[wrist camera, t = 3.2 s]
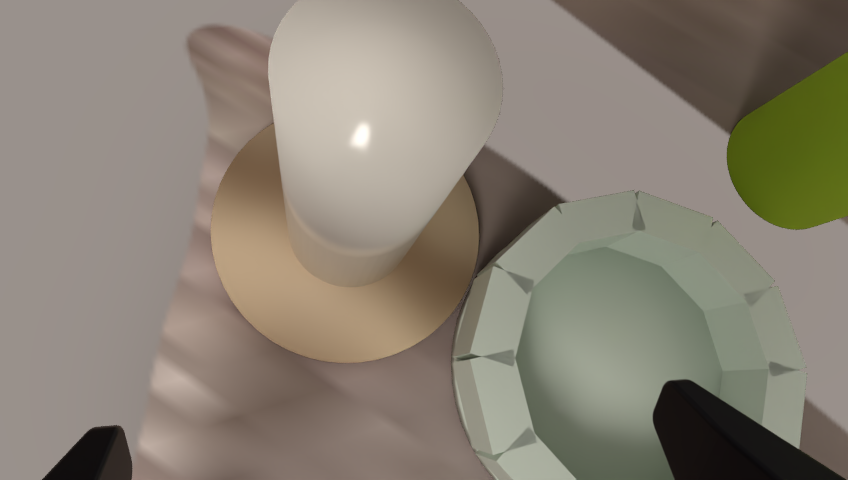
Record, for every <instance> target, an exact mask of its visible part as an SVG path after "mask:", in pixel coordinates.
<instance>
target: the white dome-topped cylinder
mask: <svg viewBox="0 0 848 480" xmlns="http://www.w3.org/2000/svg"><path fill="white" fill-rule="evenodd" d="M268 77H269V86H270V94H271V102H272V110H273V118H274V126H275V134H276V141H277V149H278V157H279V165H280V173H281V181H282V189H283V197H284V205H285V213H286V221H287V229H288V237H289V241H290V245H291V248H292V250H293V252H294V254H295V256H296V258H297V259H298V261H299V262H300V263H301V265H302V266H303V267H304V268H305V269H306V270H307V271H308V272H309V273H311V274H312V275H313V276H315V277H316V278H318V279H320V280H322V281H324V282H326V283H329V284H332V285H335V286H340V287H360V286H365V285H369V284H372V283H375V282H377V281H379V280H381V279H382V278H384V277H386V276H387V275H388V274H390V273H391V272H392V271H393V270H394V269H395V268H396V267H397V266H398V264H399V263H400V262H401V260H402V259H403V258H404V256H405V255H406V253H407V252H408V251H409V249H410V248H411V246H412V245H413V244H414V242H415V241H416V239H417V238H418V237H419V235H420V234H421V232H422V231H423V230H424V228H425V227H426V225H427V224H428V223H429V221H430V220H431V218H432V217H433V216H434V214H435V213H436V211H437V210H438V209H439V207H440V206H441V204H442V203H443V202H444V200H445V199H446V197H447V196H448V195H449V193H450V192H451V190H452V189H453V188H454V186H455V185H456V183H457V182H458V181H459V179H460V178H461V176H462V175H463V174H464V172H465V171H466V170H467V168H468V167H469V165H470V164H471V163H472V161H473V160H474V158H475V157H476V156H477V154H478V153H479V151H480V150H481V149H482V147H483V146H484V144H485V143H486V142H487V140H488V139H489V137H490V135H491V133H492V131H493V129H494V127H495V125H496V122H497V120H498V117H499V114H500V109H501V105H502V97H503V80H502V71H501V66H500V62H499V58H498V56H497V53H496V50H495V47H494V45H493V43H492V41H491V39H490V37H489V35H488V34H487V32H486V31H485V29H484V28H483V26H482V25H481V23H480V22H479V21H478V20H477V18H476V17H475V16H474V15H473V14H472V13H471V12H470V11H469V10H468V9H467V8H466V7H465V6H464V5H463V4H462V3H461V2H460V1H458V0H298V1H297V2H296V3H295V4H294V5H293V6H292V7H291V8H290V10H289V11H288V12H287V14H286V15H285V16H284V18H283V19H282V21H281V23H280V25H279V27H278V29H277V30H276V32H275V35H274V38H273V41H272V44H271V48H270V54H269V60H268Z"/></svg>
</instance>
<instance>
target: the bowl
mask: <svg viewBox="0 0 848 480" xmlns="http://www.w3.org/2000/svg"><path fill="white" fill-rule="evenodd" d="M712 220H713V217H710V216H707V215H704V214H702V213H699V212H696V211H693V210H691V209H688V208H685V207H682V206H680V205H677V204H674V203H672V202H669V201H666V200H663V199H660V198H658V197H655V196H652V195H650V194H647V193H644V192H641V191H638V192H636V193H635V192H634V190H633V191H627V192H622V193H616V194H611V195H605V196H600V197H594V198H589V199H584V200H578V201H573V202H567V203H562V204H558V205H557V206H556V207H555V206H554V207H553V208H552V209H550V210H549V211H548V212H546V213H545V214H544V215H542V216H541V217H540V218H538V219H537V220H536V221H534V222H533V223H532V224H530V225H529V226H528V227H527V228H526V229H525V230H524V231H523V232H522V233H521V234H519V235H518V236H517V237H516V238H515V239H514V240H513V241H512V242H511V243H510V244H509V245H508V246H506V247H505V248H504V249H503V250H501V251H500V252H499V253H498V254H497V255H495V257H494V258H493V259H492V260H491V261H490V262H489V263H488V264H487V265H486V266H485V267H484V268H483V269H482V270H481V271H480V272H479V273H478V274H477V276H478V277H477V278H475V279H474V281H473V284H472V286H471V288H470V290H469V292H468V294H467V296H466V298H465V300H464V302H463V305H462V308H461V310H460V313H459V316H458V319H457V323H456V327H455V332H454V337H453V343H452V355H451V373H452V386H453V392H454V398H455V404H456V407H457V411H458V414H459V417H460V421H461V424H462V427H463V429H464V431H465V434H466V436H467V438H468V440H469V443H470V445H471V447H472V448H473V450H474V452H475V454H476V455H477V457H478V458H479V460H480V462H481V463H482V465H483V466H484V467H485V469H486V470H487V471H488V473H489V474H490V475H491V476H492V478H493V479H494V480H674V477H673V475H672V472H671V469H670V467H669V464H668V462H667V459H666V456H665V454H664V451H663V449H662V446H661V443H660V441H659V438H658V436H657V433H656V430H655V428H654V425H653V410H654V408H655V405H656V403H657V400H658V397H659V395H660V392H661V390H662V387H663V385H664V384H665V383H666V382H667V381H669V380H679V379H688V380H691V381H693V382H695V383H696V384H698V385H699V386H701V387H703V388H704V389H706V390H707V391H709V392H710V393H712V394H714V395H715V396H717V397H718V398H720V399H721V400H723V401H724V402H726V403H728V404H729V405H731V406H732V407H734V408H735V409H737V410H738V411H740V412H742V413H743V414H745V415H746V416H748V417H749V418H751V419H752V420H754V421H756V422H757V423H759V424H760V425H762V426H763V427H765V428H767V429H768V430H770V431H771V432H773V433H774V434H776V435H777V436H779V437H781V438H782V439H784V440H785V441H787V442H788V443H790V444H791V445H793V446H795V447H796V448H798V449H799V446H800V436H801V427H802V418H803V408H804V399H805V390H806V380H807V373H805V372H801V371H799V369H803V368H806V365H805V362H804V359H803V356H802V353H801V350H800V347H799V345H798V342H797V339H796V336H795V333H794V330H793V328H792V325H791V322H790V319H789V317H788V313H787V310H786V307H785V305H784V302H783V299H782V296H781V293H780V290H779V287H778V286H775V287H771V288H769V287H770V286H771V285H772V284H773V282H774V280H773V278H772V277H771V276H770V275H769V274H768V273H767V272H766V271H765V270H764V269H763V268H762V267H761V266H760V265H759V264H758V263H757V262H756V260H754V258H753V257H752V256H751V255H750V254H749V253H748V252H747V251H746V250H745V249H744V248H743V247H742V246H741V245H740V244H739V243H738V242H737V241H736V239H735V238H734V237H733V236H732V235H731V234H730V233H729V232H728V231H727V230H726V229H725V228H724V227H723V226H722V225H721V224H720V223H719V222H718V221H716V222H713V223H712Z"/></svg>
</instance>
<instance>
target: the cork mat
mask: <svg viewBox="0 0 848 480" xmlns="http://www.w3.org/2000/svg"><path fill="white" fill-rule="evenodd" d="M211 242H212V252H213V256H214V260H215V265H216V269H217V271H218V274H219V276H220V279H221V281H222V284H223V286H224V288H225V290H226V291H227V293H228V295H229V297H230V299H231V300H232V302H233V303H234V304H235V306H236V307H237V308H238V310H239V311H240V312H241V314H242V315H243V316H244V317H245V318H246V319H247V320H248V321H249V322H250V323H251V324H252V325H253V326H254V327H255V328H256V329H257V330H258V331H259V332H260V333H262V334H263V335H264V336H266V337H267V338H268V339H270V340H271V341H272V342H274V343H276V344H278V345H280V346H281V347H283V348H285V349H287V350H289V351H291V352H294V353H297V354H299V355H302V356H304V357H308V358H312V359H316V360H320V361H326V362H335V363H360V362H366V361H372V360H378V359H381V358H384V357H388V356H391V355H394V354H396V353H398V352H401V351H403V350H405V349H407V348H410V347H412V346H413V345H415V344H417V343H418V342H420V341H421V340H423V339H425V338H426V337H428V336H429V335H430V334H431V333H432V332H434V331H435V330H436V329H437V328H438V327H440V326H441V325H442V323H443V322H444V321H445V320H446V319H447V318H448V317H449V316H450V315H451V314H452V312H453V311H454V309H455V308H456V307H457V305H458V304H459V302H460V301H461V299H462V297H463V295H464V294H465V292H466V290H467V288H468V286H469V283H470V281H471V278H472V275H473V272H474V269H475V265H476V260H477V255H478V245H479V226H478V217H477V212H476V206H475V203H474V199H473V196H472V193H471V190H470V188H469V186H468V184H467V181H466V179H465V177H464V175H462V176H461V178H460V179H459V181H458V182H457V183H456V185H455V186H454V188H453V189H452V190H451V192H450V193H449V195H448V196H447V197H446V199H445V200H444V202H443V203H442V204H441V206H440V207H439V209H438V210H437V211H436V213H435V214H434V216H433V217H432V218H431V220H430V221H429V223H428V224H427V225H426V227H425V228H424V230H423V231H422V232H421V234H420V235H419V237H418V238H417V239H416V241H415V242H414V244H413V245H412V246H411V248H410V249H409V251H408V252H407V253H406V255H405V256H404V258H403V259H402V260H401V262H400V263H399V264H398V266H397V267H396V268H395V269H394V270H393V271H392V272H391V273H390V274H388V275H387V276H386V277H384V278H382V279H381V280H379V281H377V282H375V283H372V284H369V285H365V286H360V287H340V286H335V285H332V284H329V283H326V282H324V281H322V280H320V279H318V278H316V277H315V276H313V275H312V274H311V273H309V272H308V271H307V270H306V269H305V268H304V267H303V266H302V265H301V263H300V262H299V261H298V259H297V258H296V256H295V254H294V252H293V250H292V248H291V245H290V241H289V237H288V229H287V221H286V213H285V205H284V197H283V189H282V181H281V173H280V165H279V157H278V149H277V141H276V134H275V126H274V123H273V124H271V125H270V126H268V127H267V128H265V129H263V130H262V131H261V132H260V133H258V134H257V135H256V136H255V137H254V138H252V139H251V140H250V141H249V142H248V143H247V144H246V145H245V146H244V147H243V149H242V150H241V151H240V152H239V153H238V154H237V156H236V157H235V159H234V160H233V161H232V163H231V164H230V166H229V167H228V169H227V171H226V173H225V175H224V177H223V179H222V181H221V183H220V186H219V189H218V191H217V194H216V197H215V201H214V206H213V211H212V218H211Z"/></svg>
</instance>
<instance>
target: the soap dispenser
mask: <svg viewBox="0 0 848 480" xmlns="http://www.w3.org/2000/svg"><path fill="white" fill-rule="evenodd" d="M727 165H728V170H729V174H730V177H731V180H732V182H733V185H734V187H735V189H736V191H737V192H738V194H739V195H740V197H741V198H742V200H743V201H744V202H745V203H746V204H747V206H748V207H749V208H750V209H751V210H752V211H753V212H755V213H756V214H757V215H758V216H760V217H761V218H763V219H764V220H766V221H768V222H769V223H771V224H773V225H776V226H779V227H782V228H787V229H796V230H799V229H807V228H811V227H814V226H818V225H821V224H824V223H827V222H830V221H833V220H836V219H839V218H842V217H845V216H848V52H847V53H845V54H843V55H842V56H840V57H839V58H837V59H835V60H834V61H832V62H831V63H829V64H827V65H826V66H824V67H823V68H821V69H820V70H818V71H816V72H815V73H813V74H812V75H810V76H808V77H807V78H805V79H804V80H802V81H800V82H799V83H797V84H796V85H794V86H793V87H791V88H789V89H788V90H786V91H785V92H783V93H781V94H780V95H778V96H777V97H775V98H773V99H772V100H770V101H769V102H767V103H766V104H764V105H762V106H761V107H759V108H758V109H756V110H754V111H753V112H751V113H750V114H748V115H747V116H745V117H744V118H743V119H741V120H740V121H739V123H738V124H737V125H736V126H735V128H734V130H733V131H732V133H731V136H730V138H729V142H728V148H727Z"/></svg>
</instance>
